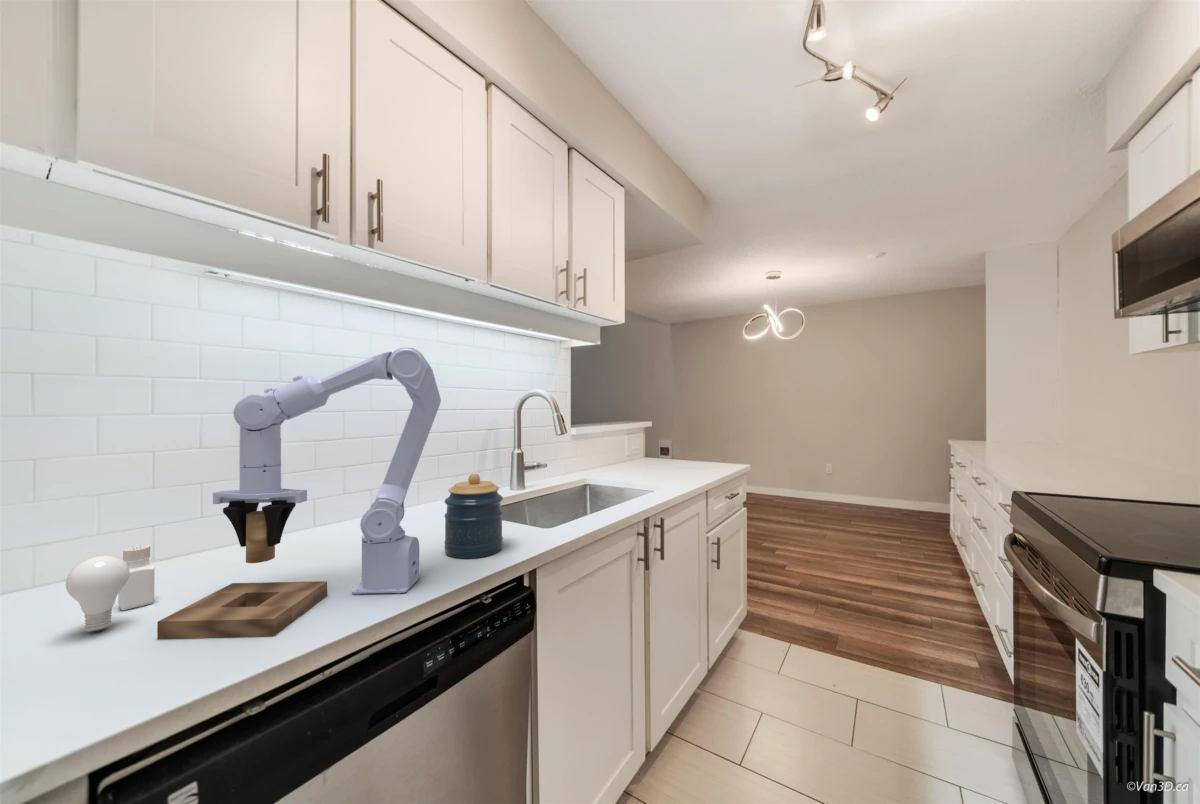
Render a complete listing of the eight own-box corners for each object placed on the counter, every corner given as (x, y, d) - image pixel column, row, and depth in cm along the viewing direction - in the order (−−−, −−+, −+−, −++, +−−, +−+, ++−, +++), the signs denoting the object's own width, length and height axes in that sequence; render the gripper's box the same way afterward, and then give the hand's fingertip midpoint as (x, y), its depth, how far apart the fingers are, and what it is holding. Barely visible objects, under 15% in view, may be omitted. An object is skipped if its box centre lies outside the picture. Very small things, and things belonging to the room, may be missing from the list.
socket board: (327, 595, 79) (327, 581, 79) (273, 636, 65) (273, 618, 65) (232, 597, 78) (232, 583, 78) (157, 639, 64) (157, 621, 64)
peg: (280, 555, 80) (280, 509, 80) (264, 562, 76) (264, 515, 76) (256, 555, 80) (256, 510, 80) (239, 563, 76) (240, 515, 76)
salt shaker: (151, 597, 78) (151, 542, 79) (154, 604, 76) (155, 547, 76) (117, 605, 75) (118, 548, 75) (120, 612, 73) (120, 553, 73)
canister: (466, 539, 112) (466, 468, 112) (513, 544, 108) (513, 470, 108) (431, 556, 100) (432, 476, 100) (482, 562, 96) (482, 479, 96)
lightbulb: (61, 633, 66) (62, 558, 66) (123, 616, 71) (124, 547, 71) (69, 646, 62) (69, 566, 62) (134, 627, 68) (134, 554, 68)
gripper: (317, 462, 82) (317, 537, 82) (235, 463, 81) (235, 538, 81) (292, 467, 75) (292, 549, 75) (202, 468, 74) (202, 551, 74)
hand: (260, 544), depth 78 cm, fingers closed on peg, 4 cm apart
